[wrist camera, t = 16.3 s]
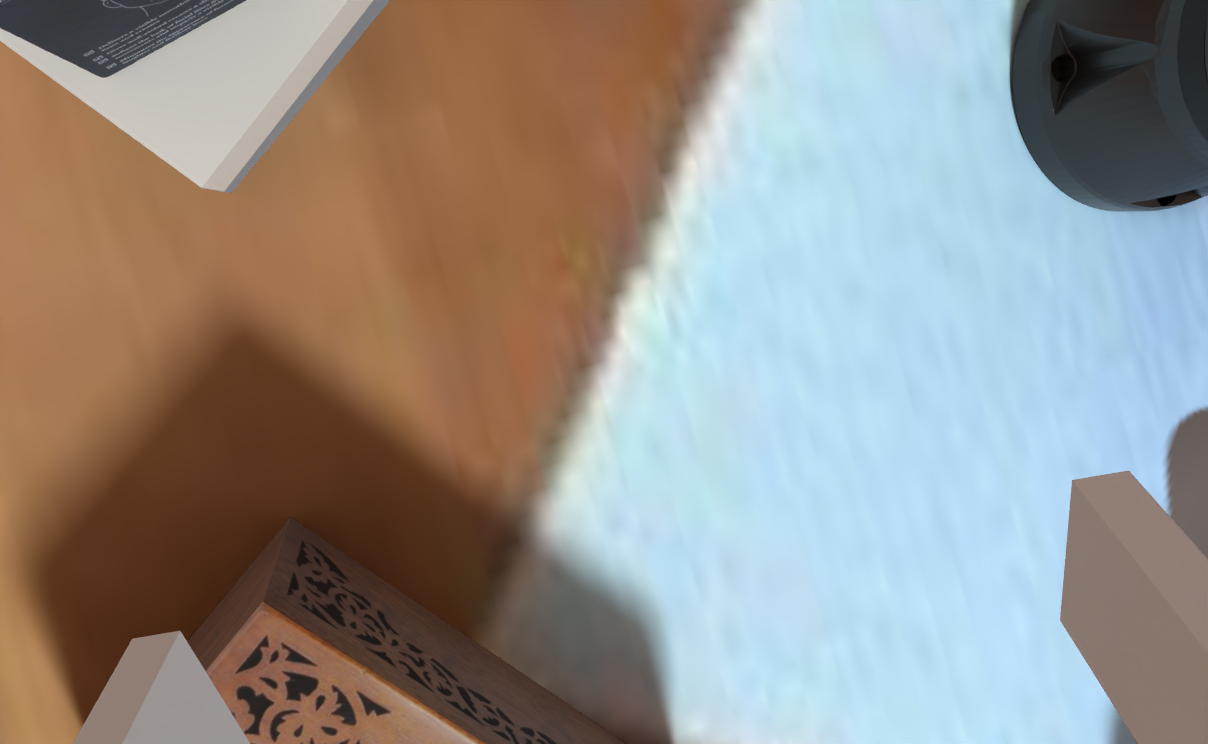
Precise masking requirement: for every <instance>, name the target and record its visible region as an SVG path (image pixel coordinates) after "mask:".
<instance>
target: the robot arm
mask: <svg viewBox="0 0 1208 744" xmlns="http://www.w3.org/2000/svg"><path fill="white" fill-rule="evenodd" d="M1013 96H1014V105H1015V110H1016V115H1017V119H1018V123H1019V127H1020V130H1021V133H1022V136H1023V138H1024V141H1025V143H1026V146H1027V148H1028V150H1029V152H1030V154H1031V155H1032V157H1033V159H1034V161H1035V162H1036V164H1037V165H1038V167H1039V168H1040V169H1041V171H1042V172H1043V173H1044V174H1045V176H1046V177H1047V178H1048V179H1049V180H1050V181H1051V182H1052V183H1053V184H1054V185H1055V186H1056V187H1057V188H1058V189H1060V190H1061V191H1062V192H1064V193H1065V194H1066V195H1068V196H1069V197H1071V198H1073V199H1074V200H1076V201H1078V202H1080V203H1082V204H1085V205H1087V206H1090V207H1093V208H1097V209H1101V210H1107V211H1155V210H1163V209H1168V208H1173V207H1177V206H1181V205H1184V204H1186V203H1189V202H1192V201H1194V200H1197V199H1199V198H1201V197H1204V196H1207V195H1208V0H1030V2H1029V4H1028V7H1027V9H1026V12H1025V14H1024V17H1023V20H1022V23H1021V26H1020V29H1019V33H1018V37H1017V42H1016V47H1015V53H1014V61H1013ZM1060 621H1061V622H1062V624H1063V626H1064V627H1065V629H1066V630H1067V632H1068V633H1069V635H1070V637H1071V638H1072V640H1073V641H1074V643H1075V645H1076V646H1077V648H1078V649H1079V651H1080V653H1081V654H1082V656H1083V657H1084V659H1085V661H1086V662H1087V664H1088V665H1089V667H1090V669H1091V670H1092V672H1093V673H1094V675H1095V676H1096V678H1097V680H1098V681H1099V683H1100V684H1101V686H1102V688H1103V689H1104V691H1105V692H1106V694H1107V696H1108V697H1109V699H1110V700H1111V702H1112V704H1113V705H1114V707H1115V708H1116V710H1117V712H1118V713H1119V715H1120V716H1121V718H1122V719H1123V721H1124V723H1125V724H1126V726H1127V727H1128V729H1129V731H1130V732H1131V734H1132V735H1133V737H1134V739H1135V740H1136V742H1137V743H1138V744H1208V559H1207V558H1206V557H1205V556H1204V555H1203V554H1202V552H1201V551H1200V550H1199V549H1198V548H1197V547H1196V546H1195V544H1194V543H1193V542H1192V541H1191V540H1190V539H1189V538H1188V537H1187V536H1186V534H1185V533H1184V532H1183V531H1182V530H1181V529H1180V528H1179V527H1178V526H1177V524H1176V523H1175V522H1174V521H1173V520H1172V519H1171V518H1170V516H1169V515H1168V514H1167V513H1166V512H1165V511H1164V510H1163V509H1162V507H1161V506H1160V505H1159V504H1158V503H1157V502H1156V501H1155V500H1154V498H1153V497H1152V496H1151V495H1150V494H1149V493H1148V492H1147V491H1146V489H1145V488H1144V487H1143V486H1142V485H1141V484H1140V483H1139V482H1138V480H1137V479H1136V478H1135V477H1134V476H1133V475H1132V474H1131V473H1130V471H1124V472H1118V473H1112V474H1106V475H1100V476H1094V477H1089V478H1083V479H1077V480H1072V488H1071V500H1070V511H1069V523H1068V535H1067V546H1066V558H1065V569H1064V581H1063V593H1062V604H1061V616H1060ZM73 744H250V742H249V741H248V739H247V737H246V736H245V734H244V733H243V731H242V729H241V728H240V726H239V725H238V723H237V721H236V720H235V718H234V716H233V715H232V713H231V712H230V710H229V708H228V707H227V705H226V704H225V702H224V700H223V699H222V697H221V696H220V694H219V692H218V691H217V689H216V688H215V686H214V684H213V683H212V681H211V679H210V678H209V676H208V675H207V673H206V671H205V670H204V668H203V667H202V665H201V663H200V662H199V660H198V659H197V657H196V655H195V654H194V652H193V651H192V649H191V647H190V646H189V644H188V642H187V641H186V639H185V638H184V636H183V634H182V633H181V631H175V632H169V633H163V634H157V635H151V636H145V637H139V638H133V639H132V640H131V642H130V644H129V645H128V647H127V649H126V651H125V652H124V654H123V656H122V658H121V659H120V661H119V663H118V665H117V667H116V668H115V670H114V672H113V674H112V675H111V677H110V679H109V681H108V682H107V684H106V686H105V688H104V690H103V691H102V693H101V695H100V697H99V698H98V700H97V702H96V704H95V705H94V707H93V709H92V711H91V712H90V714H89V716H88V718H87V720H86V721H85V723H84V725H83V727H82V728H81V730H80V732H79V734H78V735H77V737H76V739H75V741H74V742H73Z"/></svg>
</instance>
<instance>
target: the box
mask: <svg viewBox="0 0 1208 744" xmlns="http://www.w3.org/2000/svg"><path fill="white" fill-rule="evenodd" d="M244 1H246V0H0V28H1V29H3V30H5V31H7V32H10V33H11V34H13V35H15V36H17V37H20V38H22V39H24V40H25V41H27V42H29V43H31V44H33V45H36V46H38V47H39V48H41V49H44V50H45V51H47V52H50V53H52V54H54V55H56V56H58V57H60V58H62V59H64V60H66V61H68V62H70V63H73V64H75V65H76V66H79V67H80V68H82V69H84V70H87V71H89V72H91V73H93V74H95V75H97V76H99V77H102V78H105V77H108V76H111V75H113V74H115V73H117V72H118V71H120V70H122V69H124V68H126V67H128V66H130V65H132V64H133V63H135V62H136V61H138V60H140V59H142V58H144V57H146V56H147V55H149V54H151V53H153V52H154V51H156V50H158V49H160V48H162V47H164V46H165V45H167V44H169V43H171V42H173V41H175V40H176V39H178V38H180V37H182V36H184V35H186V34H187V33H189V32H191V31H192V30H194V29H196V28H198V27H200V26H201V25H203V24H205V23H206V22H208V21H210V20H212V19H214V18H216V17H218V16H220V15H221V14H223V13H225V12H227V11H228V10H230V9H232V8H234V7H235V6H237V5H239V4H241V3H243V2H244Z"/></svg>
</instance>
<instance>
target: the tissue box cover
mask: <svg viewBox="0 0 1208 744" xmlns="http://www.w3.org/2000/svg"><path fill="white" fill-rule="evenodd" d="M187 642H188V644H189V646H190V647H191V649H192V651H193V652H194V654H195V655H196V657H197V659H198V660H199V662H200V663H201V665H202V667H203V668H204V670H205V671H206V673H207V675H208V676H209V678H210V679H211V681H212V683H213V684H214V686H215V688H216V689H217V691H218V692H219V694H220V696H221V697H222V699H223V700H224V702H225V704H226V705H227V707H228V708H229V710H230V712H231V713H232V715H233V716H234V718H235V720H236V721H237V723H238V725H239V726H240V728H241V729H242V731H243V733H244V734H245V736H246V737H247V739H248V741H249V742H250V744H626V743H624V742H623V741H621V740H620V739H618V738H617V737H615V736H614V735H612V734H611V733H609V732H608V731H606V730H605V729H603V728H602V727H601V726H599V725H598V724H596V723H595V722H593V721H592V720H590V719H589V718H587V717H586V716H584V715H583V714H581V713H580V712H578V711H577V710H575V709H574V708H572V707H571V706H569V705H568V704H567V703H565V702H564V701H562V700H561V699H559V698H558V697H556V696H555V695H553V694H552V693H550V692H549V691H547V690H546V689H544V688H543V687H541V686H540V685H538V684H537V683H535V682H534V681H533V680H531V679H530V678H528V677H527V676H525V675H524V674H522V673H521V672H519V671H518V670H516V669H515V668H513V667H512V666H510V665H509V664H507V663H506V662H504V661H503V660H501V659H500V658H499V657H497V656H496V655H494V654H493V653H491V652H490V651H488V650H487V649H485V648H484V647H482V646H481V645H479V644H478V643H476V642H475V641H473V640H472V639H470V638H469V637H467V636H466V635H465V634H463V633H462V632H460V631H459V630H457V629H456V628H454V627H453V626H451V625H450V624H448V623H447V622H445V621H444V620H442V619H441V618H439V617H438V616H436V615H435V614H433V613H432V612H430V611H429V610H428V609H426V608H425V607H423V606H422V605H420V604H419V603H417V602H416V601H414V600H413V599H411V598H410V597H408V596H407V595H405V594H404V593H402V592H401V591H399V590H398V589H396V588H395V587H394V586H392V585H391V584H389V583H388V582H386V581H385V580H383V579H382V578H380V577H379V576H377V575H376V574H374V573H373V572H371V571H370V570H368V569H367V568H365V567H364V566H362V565H361V564H360V563H358V562H357V561H355V560H354V559H352V558H351V557H349V556H348V555H346V554H345V553H343V552H342V551H340V550H339V549H337V548H336V547H334V546H333V545H331V544H330V543H328V542H327V541H326V540H324V539H323V538H321V537H320V536H318V535H317V534H315V533H314V532H312V531H311V530H309V529H308V528H306V527H305V526H303V525H302V524H300V523H299V522H297V521H296V520H294V519H293V518H292V517H290V518H289V519H288V520H287V522H286V523H285V524H284V525H283V526H282V528H281V529H280V530H279V531H278V533H277V534H276V535H275V536H274V537H273V539H272V540H271V541H270V542H269V543H268V545H267V546H266V547H265V548H264V549H263V551H262V552H261V553H260V554H259V555H258V557H257V558H256V559H255V560H254V561H253V563H252V564H251V565H250V566H249V568H248V569H247V570H246V571H245V572H244V574H243V575H242V576H241V577H240V578H239V580H238V581H237V582H236V583H235V584H234V586H233V587H232V588H231V589H230V590H229V592H228V593H227V594H226V595H225V597H224V598H223V599H222V600H221V601H220V603H219V604H218V605H217V606H216V607H215V609H214V610H213V611H212V612H211V613H210V615H209V616H208V617H207V618H206V619H205V621H204V622H203V623H202V624H201V626H200V627H199V628H198V629H197V630H196V632H195V633H194V634H193V635H192V636H191V638H190V639H189V640H188V641H187Z"/></svg>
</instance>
